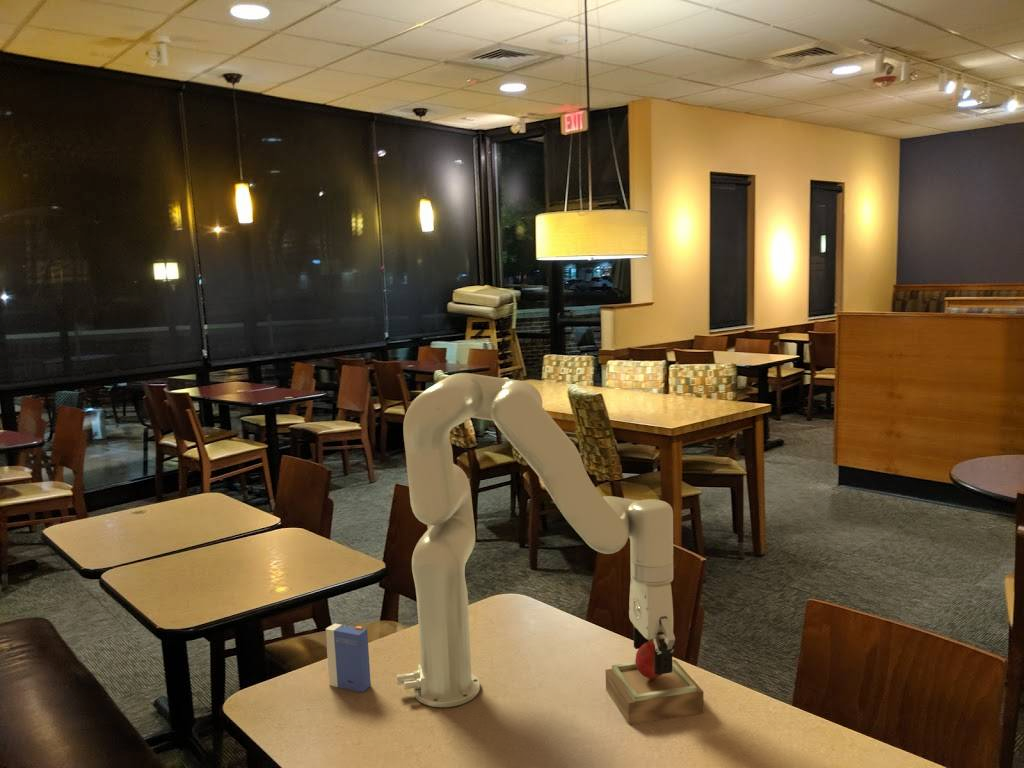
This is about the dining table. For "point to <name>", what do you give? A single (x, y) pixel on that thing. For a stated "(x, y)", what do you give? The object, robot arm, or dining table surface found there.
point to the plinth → (653, 693)
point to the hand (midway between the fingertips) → (652, 659)
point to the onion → (646, 660)
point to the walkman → (348, 657)
